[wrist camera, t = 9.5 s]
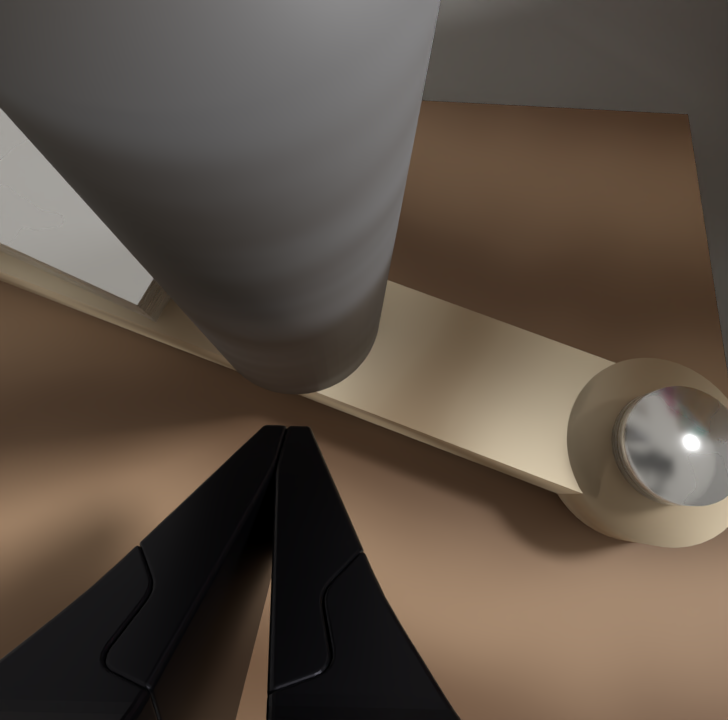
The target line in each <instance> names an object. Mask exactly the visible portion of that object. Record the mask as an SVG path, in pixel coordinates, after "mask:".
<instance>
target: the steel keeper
mask: <svg viewBox="0 0 728 720" xmlns="http://www.w3.org/2000/svg"><path fill="white" fill-rule="evenodd" d="M0 251H2V252H4V253H6V254H8V255H10V256H13V257H15V258H17V259H19V260H21V261H24V262H26V263H28V264H30V265H32V266H35V267H37V268H39V269H41V270H43V271H45V272H48V273H50V274H52V275H54V276H56V277H59V278H61V279H63V280H65V281H67V282H70V283H72V284H74V285H76V286H78V287H81V288H83V289H85V290H87V291H89V292H91V293H94V294H96V295H98V296H100V297H102V298H105V299H107V300H109V301H111V302H113V303H116V304H118V305H120V306H122V307H124V308H126V309H129V310H131V311H133V312H135V313H137V314H140V315H142V316H144V317H146V318H148V319H151V320H153V321H155V322H156V321H157V320H158V318H159V316H160V315H161V313H162V311H163V310H164V308H165V306H166V305H167V303H168V301H169V300H170V298H171V297H170V296H169V295H168V294H167V293H166V292H165V291H164V289H163V288H162V287H161V286H160V285H159V284H158V283H157V282H156V281H155V279H154V278H153V277H152V276H151V275H150V274H149V273H148V272H147V271H146V269H145V268H144V267H143V266H142V265H141V264H140V263H139V262H138V261H137V259H136V258H135V257H134V256H133V255H132V254H131V253H130V252H129V251H128V249H127V248H126V247H125V246H124V245H123V244H122V243H121V242H120V241H119V239H118V238H117V237H116V236H115V235H114V234H113V233H112V232H111V231H110V229H109V228H108V227H107V226H106V225H105V224H104V223H103V222H102V221H101V219H100V218H99V217H98V216H97V215H96V214H95V213H94V212H93V211H92V209H91V208H90V207H89V206H88V205H87V204H86V203H85V202H84V201H83V199H82V198H81V197H80V196H79V195H78V194H77V193H76V192H75V191H74V189H73V188H72V187H71V186H70V185H69V184H68V183H67V182H66V181H65V179H64V178H63V177H62V176H61V175H60V174H59V173H58V172H57V171H56V169H55V168H54V167H53V166H52V165H51V164H50V163H49V162H48V161H47V159H46V158H45V157H44V156H43V155H42V154H41V153H40V152H39V151H38V149H37V148H36V147H35V146H34V145H33V144H32V143H31V142H30V140H29V139H28V138H27V137H26V136H25V135H24V134H23V133H22V132H21V130H20V129H19V128H18V127H17V126H16V125H15V124H14V123H13V122H12V120H11V119H10V118H9V117H8V116H7V115H6V114H5V113H4V112H3V110H2V109H1V108H0ZM611 444H612V452H613V456H614V459H615V462H616V464H617V467H618V469H619V470H620V472H621V474H622V475H623V477H624V478H625V480H626V481H627V482H628V483H629V484H630V485H631V486H632V487H633V488H634V489H635V490H636V491H637V492H639V493H640V494H641V495H643V496H644V497H646V498H648V499H650V500H652V501H655V502H658V503H661V504H665V505H674V506H706V505H711V504H714V503H717V502H719V501H721V500H723V499H725V498H726V497H727V496H728V409H727V408H726V407H725V406H724V405H723V404H722V403H720V402H719V401H718V400H717V399H715V398H714V397H712V396H711V395H709V394H707V393H705V392H703V391H700V390H698V389H695V388H691V387H685V386H671V387H665V388H662V389H659V390H656V391H653V392H650V393H647V394H644V395H641V396H638V397H636V398H634V399H633V400H631V401H630V402H628V403H627V404H626V405H625V406H624V407H623V408H622V410H621V411H620V412H619V414H618V416H617V417H616V420H615V422H614V425H613V429H612V437H611Z"/></svg>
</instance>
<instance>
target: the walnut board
mask: <svg viewBox="0 0 728 720" xmlns="http://www.w3.org/2000/svg"><path fill="white" fill-rule="evenodd" d="M388 280H389V281H392V282H394V283H397V284H400V285H403V286H405V287H408V288H411V289H414V290H416V291H419V292H422V293H425V294H427V295H430V296H433V297H436V298H438V299H441V300H444V301H447V302H449V303H452V304H455V305H458V306H460V307H463V308H466V309H469V310H471V311H474V312H477V313H480V314H482V315H485V316H488V317H491V318H493V319H496V320H499V321H502V322H504V323H507V324H510V325H513V326H515V327H518V328H521V329H524V330H526V331H529V332H532V333H535V334H537V335H540V336H543V337H546V338H548V339H551V340H554V341H557V342H559V343H562V344H565V345H568V346H570V347H573V348H576V349H579V350H581V351H584V352H587V353H590V354H592V355H595V356H598V357H601V358H603V359H606V360H609V361H612V362H614V363H618V362H621V361H625V360H629V359H636V358H657V359H662V360H668V361H671V362H675V363H678V364H680V365H683V366H685V367H687V368H690V369H692V370H693V371H695V372H697V373H699V374H700V375H702V376H703V377H704V378H706V379H707V380H709V381H710V382H711V383H712V384H713V385H715V386H716V387H717V388H718V389H719V390H720V391H721V392H722V393H723V394H724V396H725V397H726V398H727V399H728V373H727V366H726V360H725V353H724V347H723V340H722V334H721V327H720V321H719V314H718V308H717V301H716V294H715V288H714V281H713V275H712V268H711V262H710V255H709V249H708V242H707V236H706V229H705V223H704V216H703V210H702V203H701V196H700V190H699V183H698V177H697V170H696V164H695V157H694V151H693V144H692V138H691V131H690V125H689V118H688V114H670V113H651V112H632V111H613V110H594V109H574V108H555V107H536V106H517V105H498V104H479V103H460V102H441V101H422V102H421V107H420V112H419V117H418V123H417V128H416V133H415V138H414V144H413V149H412V154H411V159H410V165H409V170H408V175H407V180H406V186H405V191H404V196H403V202H402V207H401V212H400V217H399V223H398V228H397V233H396V238H395V244H394V249H393V254H392V259H391V265H390V270H389V275H388ZM265 425H284V426H286V428H288V427H289V426H308V427H310V428H311V430H312V432H313V434H314V436H315V439H316V441H317V443H318V446H319V448H320V450H321V453H322V455H323V457H324V460H325V462H326V464H327V467H328V469H329V471H330V473H331V476H332V478H333V480H334V483H335V485H336V487H337V490H338V492H339V494H340V497H341V499H342V501H343V503H344V506H345V508H346V510H347V513H348V515H349V517H350V520H351V522H352V524H353V527H354V529H355V531H356V534H357V536H358V538H359V540H360V543H361V545H362V547H363V550H364V553H365V554H366V556H367V558H368V561H369V563H370V565H371V568H372V570H373V572H374V574H375V576H376V578H377V580H378V582H379V584H380V587H381V589H382V591H383V593H384V595H385V597H386V599H387V600H388V602H389V604H390V606H391V607H392V609H393V611H394V613H395V614H396V616H397V618H398V620H399V621H400V623H401V625H402V627H403V628H404V630H405V631H406V633H407V635H408V636H409V638H410V640H411V641H412V643H413V644H414V646H415V648H416V649H417V651H418V652H419V654H420V656H421V657H422V659H423V661H424V662H425V664H426V665H427V667H428V669H429V670H430V672H431V673H432V675H433V677H434V678H435V680H436V682H437V683H438V685H439V686H440V688H441V690H442V691H443V693H444V695H445V696H446V698H447V699H448V701H449V702H450V704H451V705H452V707H453V708H454V710H455V711H456V713H457V714H458V716H459V717H460V718H461V720H728V527H727V528H726V529H725V530H724V531H723V532H722V533H720V534H719V535H717V536H715V537H714V538H712V539H710V540H708V541H705V542H703V543H701V544H697V545H693V546H689V547H680V548H669V547H659V546H654V545H648V544H642V543H636V542H630V541H624V540H618V539H615V538H612V537H609V536H606V535H604V534H601V533H599V532H597V531H595V530H594V529H592V528H590V527H589V526H587V525H586V524H584V523H583V522H582V521H581V520H579V519H578V518H577V517H576V516H575V515H574V514H573V513H572V512H571V511H570V510H569V509H568V508H567V507H566V505H565V504H564V503H563V502H562V500H561V499H560V497H559V496H558V494H557V493H554V492H552V491H549V490H546V489H544V488H541V487H538V486H536V485H533V484H531V483H528V482H525V481H523V480H520V479H518V478H515V477H512V476H510V475H507V474H504V473H502V472H499V471H497V470H494V469H491V468H489V467H486V466H484V465H481V464H478V463H476V462H473V461H470V460H468V459H465V458H463V457H460V456H457V455H455V454H452V453H450V452H447V451H444V450H442V449H439V448H437V447H434V446H431V445H429V444H426V443H423V442H421V441H418V440H416V439H413V438H410V437H408V436H405V435H403V434H400V433H397V432H395V431H392V430H389V429H387V428H384V427H382V426H379V425H376V424H374V423H371V422H369V421H366V420H363V419H361V418H358V417H355V416H353V415H350V414H348V413H345V412H342V411H340V410H337V409H335V408H332V407H329V406H327V405H324V404H322V403H319V402H316V401H314V400H311V399H308V398H306V397H303V396H301V395H298V394H283V393H278V392H273V391H270V390H267V389H264V388H262V387H260V386H257V385H255V384H253V383H252V382H250V381H249V380H247V379H246V378H244V377H243V376H242V375H241V374H240V373H238V372H237V371H235V370H233V369H230V368H227V367H225V366H222V365H220V364H217V363H214V362H212V361H209V360H207V359H204V358H201V357H199V356H196V355H193V354H191V353H188V352H186V351H183V350H180V349H178V348H175V347H173V346H170V345H167V344H165V343H162V342H159V341H157V340H154V339H152V338H149V337H146V336H144V335H141V334H139V333H136V332H133V331H131V330H128V329H125V328H123V327H120V326H118V325H115V324H112V323H110V322H107V321H105V320H102V319H99V318H97V317H94V316H91V315H89V314H86V313H84V312H81V311H78V310H76V309H73V308H71V307H68V306H65V305H63V304H60V303H58V302H55V301H52V300H50V299H47V298H44V297H42V296H39V295H37V294H34V293H31V292H29V291H26V290H24V289H21V288H18V287H16V286H13V285H10V284H8V283H5V282H3V281H0V659H2V658H3V657H4V656H5V655H7V654H8V653H9V652H10V651H12V650H13V649H14V648H15V647H17V646H18V645H19V644H21V643H22V642H23V641H24V640H26V639H27V638H28V637H29V636H31V635H32V634H33V633H35V632H36V631H37V630H38V629H40V628H41V627H42V626H43V625H45V624H46V623H47V622H48V621H50V620H51V619H52V618H54V617H55V616H56V615H57V614H59V613H60V612H61V611H62V610H63V609H65V608H66V607H67V606H68V605H69V604H71V603H72V602H73V601H74V600H76V599H77V598H78V597H79V596H80V595H82V594H83V593H84V592H85V591H87V590H88V589H89V588H90V587H91V586H92V585H94V584H95V583H96V582H97V581H98V580H99V579H100V578H101V577H102V576H104V575H105V574H106V573H107V572H108V571H109V570H110V569H111V568H113V567H114V566H115V565H116V564H117V563H118V562H119V561H120V560H121V559H122V558H123V557H124V556H126V555H127V554H128V553H129V552H130V551H131V550H132V549H133V548H134V547H135V546H140V545H139V544H140V542H141V541H142V540H143V539H144V538H145V537H146V536H147V535H148V534H149V533H150V532H151V531H152V530H153V529H154V528H156V527H157V526H158V525H159V524H160V523H161V522H162V521H163V520H164V519H165V518H166V517H167V516H168V515H169V514H170V513H171V512H173V511H174V510H175V509H176V508H177V507H178V506H179V505H180V504H181V503H182V502H183V501H184V500H185V499H186V498H187V497H188V496H190V495H191V494H192V493H193V492H194V491H195V490H196V489H197V488H198V487H199V486H200V485H201V484H202V483H203V482H204V481H205V480H206V479H208V478H209V477H210V476H211V475H212V474H213V473H214V472H215V471H216V470H217V469H218V468H219V467H220V466H221V465H222V464H223V463H225V462H226V461H227V460H228V459H229V458H230V457H231V456H232V455H233V454H234V453H235V452H236V451H237V450H238V449H239V448H240V447H242V446H243V445H244V444H245V443H246V442H247V441H248V440H249V439H250V438H251V437H252V436H253V435H254V434H255V433H256V432H257V431H258V430H260V429H261V428H262V427H263V426H265ZM270 600H271V581H270V585H269V589H268V593H267V597H266V601H265V605H264V609H263V613H262V617H261V621H260V625H259V629H258V633H257V637H256V641H255V645H254V649H253V653H252V657H251V661H250V665H249V669H248V673H247V677H246V680H245V684H244V688H243V692H242V696H241V700H240V704H239V708H238V712H237V716H236V720H266V707H267V680H268V653H269V627H270Z"/></svg>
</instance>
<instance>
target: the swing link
mask: <svg viewBox="0 0 728 720" xmlns="http://www.w3.org/2000/svg"><path fill="white" fill-rule="evenodd" d="M440 2H441V0H0V108H1V109H2V110H3V112H4V113H5V114H6V115H7V116H8V117H9V118H10V119H11V120H12V122H13V123H14V124H15V125H16V126H17V127H18V128H19V129H20V130H21V132H22V133H23V134H24V135H25V136H26V137H27V138H28V139H29V140H30V142H31V143H32V144H33V145H34V146H35V147H36V148H37V149H38V151H39V152H40V153H41V154H42V155H43V156H44V157H45V158H46V159H47V161H48V162H49V163H50V164H51V165H52V166H53V167H54V168H55V169H56V171H57V172H58V173H59V174H60V175H61V176H62V177H63V178H64V179H65V181H66V182H67V183H68V184H69V185H70V186H71V187H72V188H73V189H74V191H75V192H76V193H77V194H78V195H79V196H80V197H81V198H82V199H83V201H84V202H85V203H86V204H87V205H88V206H89V207H90V208H91V209H92V211H93V212H94V213H95V214H96V215H97V216H98V217H99V218H100V219H101V221H102V222H103V223H104V224H105V225H106V226H107V227H108V228H109V229H110V231H111V232H112V233H113V234H114V235H115V236H116V237H117V238H118V239H119V241H120V242H121V243H122V244H123V245H124V246H125V247H126V248H127V249H128V251H129V252H130V253H131V254H132V255H133V256H134V257H135V258H136V259H137V261H138V262H139V263H140V264H141V265H142V266H143V267H144V268H145V269H146V271H147V272H148V273H149V274H150V275H151V276H152V277H153V278H154V279H155V281H156V282H157V283H158V284H159V285H160V286H161V287H162V288H163V289H164V291H165V292H166V293H167V294H168V295H169V296H170V297H171V298H170V300H169V301H168V303H167V305H166V306H165V308H164V310H163V311H162V313H161V315H160V316H159V318H158V320H157V321H156V322H155V321H153V320H151V319H148V318H146V317H144V316H142V315H140V314H137V313H135V312H133V311H131V310H129V309H126V308H124V307H122V306H120V305H118V304H116V303H113V302H111V301H109V300H107V299H105V298H102V297H100V296H98V295H96V294H94V293H91V292H89V291H87V290H85V289H83V288H81V287H78V286H76V285H74V284H72V283H70V282H67V281H65V280H63V279H61V278H59V277H56V276H54V275H52V274H50V273H48V272H45V271H43V270H41V269H39V268H37V267H35V266H32V265H30V264H28V263H26V262H24V261H21V260H19V259H17V258H15V257H13V256H10V255H8V254H6V253H4V252H2V251H0V281H3V282H5V283H8V284H10V285H13V286H16V287H18V288H21V289H24V290H26V291H29V292H31V293H34V294H37V295H39V296H42V297H44V298H47V299H50V300H52V301H55V302H58V303H60V304H63V305H65V306H68V307H71V308H73V309H76V310H78V311H81V312H84V313H86V314H89V315H91V316H94V317H97V318H99V319H102V320H105V321H107V322H110V323H112V324H115V325H118V326H120V327H123V328H125V329H128V330H131V331H133V332H136V333H139V334H141V335H144V336H146V337H149V338H152V339H154V340H157V341H159V342H162V343H165V344H167V345H170V346H173V347H175V348H178V349H180V350H183V351H186V352H188V353H191V354H193V355H196V356H199V357H201V358H204V359H207V360H209V361H212V362H214V363H217V364H220V365H222V366H225V367H227V368H230V369H233V370H235V371H237V372H238V373H240V374H241V375H242V376H243V377H244V378H246V379H247V380H249V381H250V382H252V383H253V384H255V385H257V386H260V387H262V388H264V389H267V390H270V391H273V392H278V393H283V394H298V395H301V396H303V397H306V398H308V399H311V400H314V401H316V402H319V403H322V404H324V405H327V406H329V407H332V408H335V409H337V410H340V411H342V412H345V413H348V414H350V415H353V416H355V417H358V418H361V419H363V420H366V421H369V422H371V423H374V424H376V425H379V426H382V427H384V428H387V429H389V430H392V431H395V432H397V433H400V434H403V435H405V436H408V437H410V438H413V439H416V440H418V441H421V442H423V443H426V444H429V445H431V446H434V447H437V448H439V449H442V450H444V451H447V452H450V453H452V454H455V455H457V456H460V457H463V458H465V459H468V460H470V461H473V462H476V463H478V464H481V465H484V466H486V467H489V468H491V469H494V470H497V471H499V472H502V473H504V474H507V475H510V476H512V477H515V478H518V479H520V480H523V481H525V482H528V483H531V484H533V485H536V486H538V487H541V488H544V489H546V490H549V491H552V492H554V493H557V494H558V496H559V497H560V499H561V500H562V502H563V503H564V504H565V505H566V507H567V508H568V509H569V510H570V511H571V512H572V513H573V514H574V515H575V516H576V517H577V518H578V519H579V520H581V521H582V522H583V523H584V524H586V525H587V526H589V527H590V528H592V529H594V530H595V531H597V532H599V533H601V534H604V535H606V536H609V537H612V538H615V539H618V540H624V541H630V542H636V543H642V544H648V545H654V546H659V547H669V548H680V547H689V546H693V545H697V544H701V543H703V542H705V541H708V540H710V539H712V538H714V537H715V536H717V535H719V534H720V533H722V532H723V531H724V530H725V529H726V528H727V527H728V496H727V497H726V498H725V499H723V500H721V501H719V502H717V503H714V504H711V505H706V506H674V505H665V504H661V503H658V502H655V501H652V500H650V499H648V498H646V497H644V496H643V495H641V494H640V493H639V492H637V491H636V490H635V489H634V488H633V487H632V486H631V485H630V484H629V483H628V482H627V481H626V480H625V478H624V477H623V475H622V474H621V472H620V470H619V469H618V467H617V464H616V462H615V459H614V456H613V452H612V444H611V437H612V429H613V425H614V422H615V420H616V417H617V416H618V414H619V412H620V411H621V410H622V408H623V407H624V406H625V405H626V404H627V403H628V402H630V401H631V400H633V399H634V398H636V397H638V396H641V395H644V394H647V393H650V392H653V391H656V390H659V389H662V388H665V387H671V386H685V387H691V388H695V389H698V390H700V391H703V392H705V393H707V394H709V395H711V396H712V397H714V398H715V399H717V400H718V401H719V402H720V403H722V404H723V405H724V406H725V407H726V408H727V409H728V399H727V398H726V397H725V396H724V394H723V393H722V392H721V391H720V390H719V389H718V388H717V387H716V386H715V385H713V384H712V383H711V382H710V381H709V380H707V379H706V378H704V377H703V376H702V375H700V374H699V373H697V372H695V371H693V370H692V369H690V368H687V367H685V366H683V365H680V364H678V363H675V362H671V361H668V360H662V359H657V358H636V359H629V360H625V361H621V362H618V363H614V362H612V361H609V360H606V359H603V358H601V357H598V356H595V355H592V354H590V353H587V352H584V351H581V350H579V349H576V348H573V347H570V346H568V345H565V344H562V343H559V342H557V341H554V340H551V339H548V338H546V337H543V336H540V335H537V334H535V333H532V332H529V331H526V330H524V329H521V328H518V327H515V326H513V325H510V324H507V323H504V322H502V321H499V320H496V319H493V318H491V317H488V316H485V315H482V314H480V313H477V312H474V311H471V310H469V309H466V308H463V307H460V306H458V305H455V304H452V303H449V302H447V301H444V300H441V299H438V298H436V297H433V296H430V295H427V294H425V293H422V292H419V291H416V290H414V289H411V288H408V287H405V286H403V285H400V284H397V283H394V282H392V281H389V280H388V275H389V270H390V265H391V259H392V254H393V249H394V244H395V238H396V233H397V228H398V223H399V217H400V212H401V207H402V202H403V196H404V191H405V186H406V180H407V175H408V170H409V165H410V159H411V154H412V149H413V144H414V138H415V133H416V128H417V123H418V117H419V112H420V107H421V102H422V96H423V91H424V86H425V81H426V75H427V70H428V65H429V60H430V54H431V49H432V44H433V39H434V33H435V28H436V23H437V18H438V12H439V7H440Z"/></svg>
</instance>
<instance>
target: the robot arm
mask: <svg viewBox="0 0 728 720" xmlns="http://www.w3.org/2000/svg"><path fill="white" fill-rule="evenodd" d="M139 545H140V546H135V547H134V548H133V549H132V550H131V551H130V552H129V553H128V554H127V555H126V556H124V557H123V558H122V559H121V560H120V561H119V562H118V563H117V564H116V565H115V566H114V567H113V568H111V569H110V570H109V571H108V572H107V573H106V574H105V575H104V576H102V577H101V578H100V579H99V580H98V581H97V582H96V583H95V584H94V585H92V586H91V587H90V588H89V589H88V590H87V591H85V592H84V593H83V594H82V595H80V596H79V597H78V598H77V599H76V600H74V601H73V602H72V603H71V604H69V605H68V606H67V607H66V608H65V609H63V610H62V611H61V612H60V613H59V614H57V615H56V616H55V617H54V618H52V619H51V620H50V621H48V622H47V623H46V624H45V625H43V626H42V627H41V628H40V629H38V630H37V631H36V632H35V633H33V634H32V635H31V636H29V637H28V638H27V639H26V640H24V641H23V642H22V643H21V644H19V645H18V646H17V647H15V648H14V649H13V650H12V651H10V652H9V653H8V654H7V655H5V656H4V657H3V658H2V659H0V720H236V716H237V712H238V708H239V704H240V700H241V696H242V692H243V688H244V684H245V680H246V677H247V673H248V669H249V665H250V661H251V657H252V653H253V649H254V645H255V641H256V637H257V633H258V629H259V625H260V621H261V617H262V613H263V609H264V605H265V601H266V597H267V593H268V589H269V585H270V581H271V600H270V627H269V653H268V680H267V707H266V720H461V718H460V717H459V716H458V714H457V713H456V711H455V710H454V708H453V707H452V705H451V704H450V702H449V701H448V699H447V698H446V696H445V695H444V693H443V691H442V690H441V688H440V686H439V685H438V683H437V682H436V680H435V678H434V677H433V675H432V673H431V672H430V670H429V669H428V667H427V665H426V664H425V662H424V661H423V659H422V657H421V656H420V654H419V652H418V651H417V649H416V648H415V646H414V644H413V643H412V641H411V640H410V638H409V636H408V635H407V633H406V631H405V630H404V628H403V627H402V625H401V623H400V621H399V620H398V618H397V616H396V614H395V613H394V611H393V609H392V607H391V606H390V604H389V602H388V600H387V599H386V597H385V595H384V593H383V591H382V589H381V587H380V584H379V582H378V580H377V578H376V576H375V574H374V572H373V570H372V568H371V565H370V563H369V561H368V558H367V556H366V554H365V553H364V550H363V547H362V545H361V543H360V540H359V538H358V536H357V534H356V531H355V529H354V527H353V524H352V522H351V520H350V517H349V515H348V513H347V510H346V508H345V506H344V503H343V501H342V499H341V497H340V494H339V492H338V490H337V487H336V485H335V483H334V480H333V478H332V476H331V473H330V471H329V469H328V467H327V464H326V462H325V460H324V457H323V455H322V453H321V450H320V448H319V446H318V443H317V441H316V439H315V436H314V434H313V432H312V430H311V428H310V427H308V426H289V427H288V428H286V426H284V425H265V426H263V427H262V428H261V429H260V430H258V431H257V432H256V433H255V434H254V435H253V436H252V437H251V438H250V439H249V440H248V441H247V442H246V443H245V444H244V445H243V446H242V447H240V448H239V449H238V450H237V451H236V452H235V453H234V454H233V455H232V456H231V457H230V458H229V459H228V460H227V461H226V462H225V463H223V464H222V465H221V466H220V467H219V468H218V469H217V470H216V471H215V472H214V473H213V474H212V475H211V476H210V477H209V478H208V479H206V480H205V481H204V482H203V483H202V484H201V485H200V486H199V487H198V488H197V489H196V490H195V491H194V492H193V493H192V494H191V495H190V496H188V497H187V498H186V499H185V500H184V501H183V502H182V503H181V504H180V505H179V506H178V507H177V508H176V509H175V510H174V511H173V512H171V513H170V514H169V515H168V516H167V517H166V518H165V519H164V520H163V521H162V522H161V523H160V524H159V525H158V526H157V527H156V528H154V529H153V530H152V531H151V532H150V533H149V534H148V535H147V536H146V537H145V538H144V539H143V540H142V541H141V542H140V544H139Z"/></svg>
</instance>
